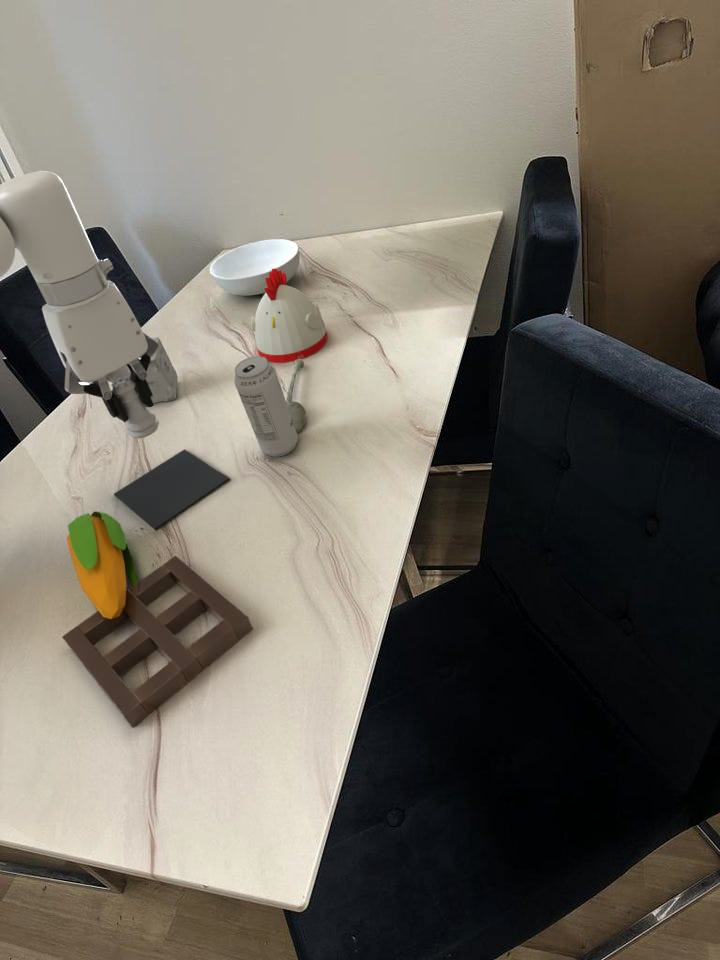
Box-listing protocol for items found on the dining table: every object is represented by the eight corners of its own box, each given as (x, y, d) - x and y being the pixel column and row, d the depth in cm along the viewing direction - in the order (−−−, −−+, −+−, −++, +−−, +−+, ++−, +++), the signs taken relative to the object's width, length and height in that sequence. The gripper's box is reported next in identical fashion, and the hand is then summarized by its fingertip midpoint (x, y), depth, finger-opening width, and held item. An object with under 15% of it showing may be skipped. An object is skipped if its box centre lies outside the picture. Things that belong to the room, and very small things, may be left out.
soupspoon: (265, 443, 106) (306, 440, 105) (260, 426, 103) (302, 423, 103) (283, 368, 122) (318, 364, 121) (279, 352, 120) (315, 348, 119)
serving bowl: (202, 295, 157) (192, 267, 153) (271, 261, 166) (264, 234, 162) (251, 314, 144) (242, 284, 139) (323, 275, 153) (317, 246, 148)
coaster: (156, 530, 93) (155, 528, 93) (114, 495, 101) (113, 493, 101) (230, 480, 99) (229, 477, 98) (185, 451, 107) (184, 449, 107)
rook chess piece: (128, 443, 91) (102, 394, 86) (130, 426, 95) (105, 378, 90) (160, 433, 91) (136, 384, 87) (160, 417, 95) (137, 369, 90)
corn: (101, 486, 89) (132, 575, 75) (127, 525, 94) (161, 616, 79) (48, 513, 88) (69, 609, 73) (78, 551, 93) (103, 649, 78)
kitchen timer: (247, 363, 126) (222, 289, 117) (273, 328, 136) (252, 257, 127) (315, 361, 122) (295, 284, 113) (336, 325, 132) (319, 251, 122)
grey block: (123, 416, 120) (98, 366, 113) (131, 392, 126) (108, 344, 120) (175, 405, 119) (153, 354, 113) (181, 381, 126) (160, 332, 119)
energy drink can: (307, 441, 102) (280, 361, 92) (278, 464, 100) (247, 384, 89) (283, 428, 106) (254, 349, 95) (254, 449, 103) (222, 371, 93)
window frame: (132, 728, 69) (123, 716, 67) (70, 647, 79) (61, 636, 78) (253, 628, 76) (247, 616, 75) (181, 566, 86) (175, 555, 85)
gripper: (119, 253, 86) (171, 375, 97) (-2, 308, 78) (69, 433, 90) (147, 262, 81) (198, 389, 92) (20, 321, 74) (92, 451, 85)
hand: (134, 409), depth 91 cm, fingers closed on rook chess piece, 3 cm apart
